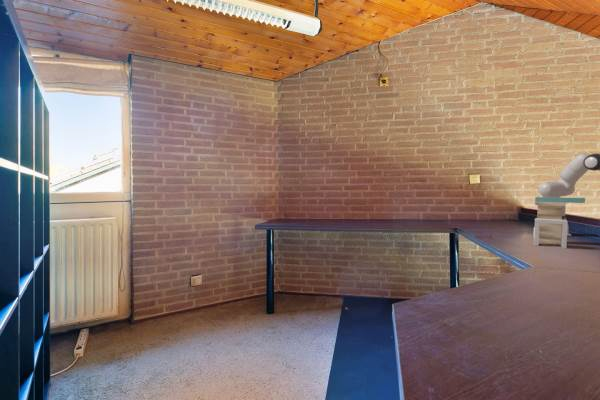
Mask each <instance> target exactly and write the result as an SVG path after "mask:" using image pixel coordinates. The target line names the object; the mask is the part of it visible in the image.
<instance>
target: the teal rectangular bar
mask: <svg viewBox="0 0 600 400" xmlns="http://www.w3.org/2000/svg"><path fill="white" fill-rule="evenodd" d="M535 202H563V203H566V204H568V203H569V204H586V197H564V196H560V197H543V196H535V197H534V203H535Z"/></svg>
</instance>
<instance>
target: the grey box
mask: <svg viewBox="0 0 600 400" xmlns="http://www.w3.org/2000/svg"><path fill="white" fill-rule="evenodd" d="M539 223H548V224H562V226H561V244H560V247H561V248H562V249H567V242H568V236H567V224H568V225H569V223H568V220H567V219H566V220H560V219H540V218H537V217H535V218H534V227H535V232H534V231H533V234H534V237H533V244H534V246H539V244H540V242H539Z"/></svg>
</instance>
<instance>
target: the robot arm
mask: <svg viewBox="0 0 600 400" xmlns="http://www.w3.org/2000/svg"><path fill="white" fill-rule="evenodd" d="M589 170H590V171H600V153H592V154H589V153H586V152H585V153H580V154H578V155H576V156H575V157H574V158H572V160H570V161H569V163H568V164H567V165H566V166H565V167H564V168H563V169H562V170H561V171H560V172H559V176H560V178H559V179H558V180H555V181H545V182H542V183H540V184H539V186H538V187H537V191H538V193H539V194H540V195H541V197H568V196H570V195H573V194H574V193H575V190H576V187H575V186H576V184H577V182H578V181H579V180H581V178H582V177H583V176H584V175H585V174H586V173H587V172H588V171H589ZM562 220H567V215H566V206H562ZM561 226H562V225H561ZM571 236H572V234H571V233H569V223H568V224H567V237H571Z"/></svg>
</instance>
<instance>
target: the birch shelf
mask: <svg viewBox="0 0 600 400" xmlns="http://www.w3.org/2000/svg"><path fill="white" fill-rule="evenodd" d="M534 205H535V206H537V211H536V212H537V215H536V218H540V219H560V220H562V206H566V205H567V203H563V202H535V201H534ZM561 225H562V224H548V223H539V244H540V243H542V244H552V243H553V244H554V245H561Z"/></svg>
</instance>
